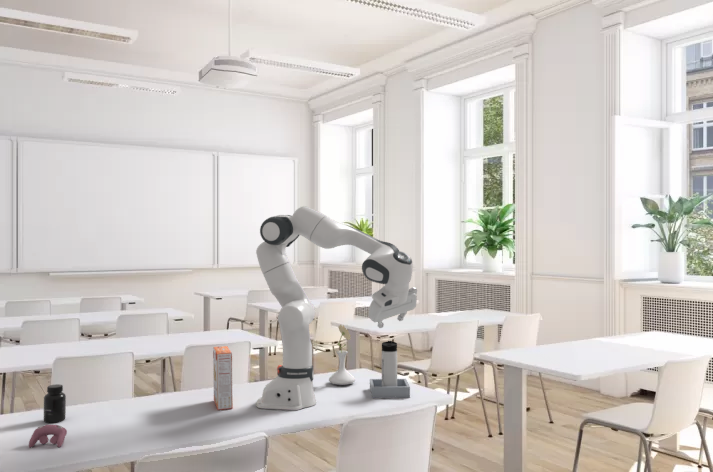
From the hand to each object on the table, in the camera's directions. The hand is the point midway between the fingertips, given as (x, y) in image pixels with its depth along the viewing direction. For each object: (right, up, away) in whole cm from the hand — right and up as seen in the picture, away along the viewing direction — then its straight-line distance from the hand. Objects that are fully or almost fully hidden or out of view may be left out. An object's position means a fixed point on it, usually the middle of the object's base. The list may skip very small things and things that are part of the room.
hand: (390, 323), depth 233 cm
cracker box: (-63, -31, 0) cm, 70 cm away
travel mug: (+1, -30, +16) cm, 34 cm away
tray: (+1, -30, +17) cm, 35 cm away
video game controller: (-106, -31, -44) cm, 119 cm away
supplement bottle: (-116, -31, -20) cm, 122 cm away
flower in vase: (-19, -31, +33) cm, 49 cm away
